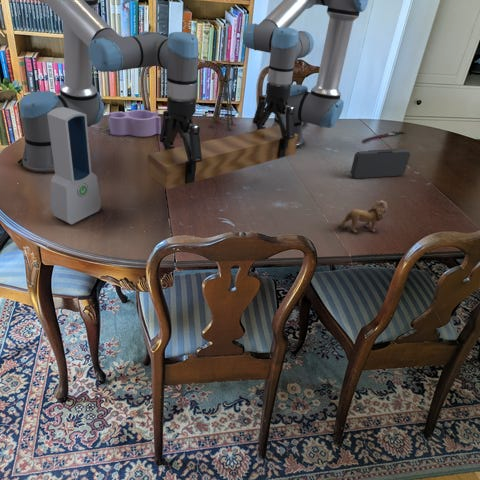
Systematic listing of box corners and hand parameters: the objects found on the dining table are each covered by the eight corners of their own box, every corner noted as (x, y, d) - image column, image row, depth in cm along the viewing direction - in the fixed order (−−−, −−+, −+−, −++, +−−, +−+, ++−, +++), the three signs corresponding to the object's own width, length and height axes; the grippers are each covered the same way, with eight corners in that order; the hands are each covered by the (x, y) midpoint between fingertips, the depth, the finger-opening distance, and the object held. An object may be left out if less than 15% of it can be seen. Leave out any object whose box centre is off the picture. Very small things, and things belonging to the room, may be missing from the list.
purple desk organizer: (111, 137, 184) (110, 120, 181) (108, 126, 194) (107, 110, 190) (162, 136, 191) (162, 119, 187) (156, 125, 200) (156, 109, 197)
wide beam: (166, 189, 127) (166, 166, 123) (147, 175, 133) (147, 153, 129) (295, 154, 157) (298, 134, 153) (275, 144, 163) (278, 125, 159)
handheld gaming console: (400, 172, 181) (407, 148, 176) (404, 175, 179) (412, 151, 174) (348, 175, 174) (354, 150, 169) (352, 179, 172) (358, 153, 167)
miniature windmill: (228, 130, 204) (234, 58, 188) (210, 127, 205) (214, 55, 189) (233, 123, 211) (239, 54, 195) (215, 120, 212) (219, 51, 196)
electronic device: (68, 226, 128) (55, 120, 112) (50, 217, 131) (34, 112, 115) (102, 209, 137) (94, 109, 121) (84, 201, 140) (74, 102, 124)
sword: (401, 130, 224) (401, 128, 224) (406, 132, 222) (407, 130, 222) (357, 141, 209) (358, 139, 208) (363, 144, 207) (363, 141, 206)
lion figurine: (375, 222, 146) (382, 196, 141) (385, 230, 142) (393, 204, 137) (334, 226, 141) (341, 200, 136) (343, 236, 137) (350, 209, 132)
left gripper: (219, 108, 117) (213, 187, 130) (169, 84, 131) (168, 158, 143) (195, 112, 113) (191, 194, 125) (146, 87, 126) (147, 163, 138)
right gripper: (314, 91, 138) (302, 161, 151) (263, 72, 152) (256, 138, 164) (297, 95, 134) (286, 166, 146) (246, 75, 147) (239, 142, 160)
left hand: (179, 174), depth 134 cm, fingers closed on wide beam, 10 cm apart
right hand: (270, 151), depth 155 cm, fingers closed on wide beam, 10 cm apart
